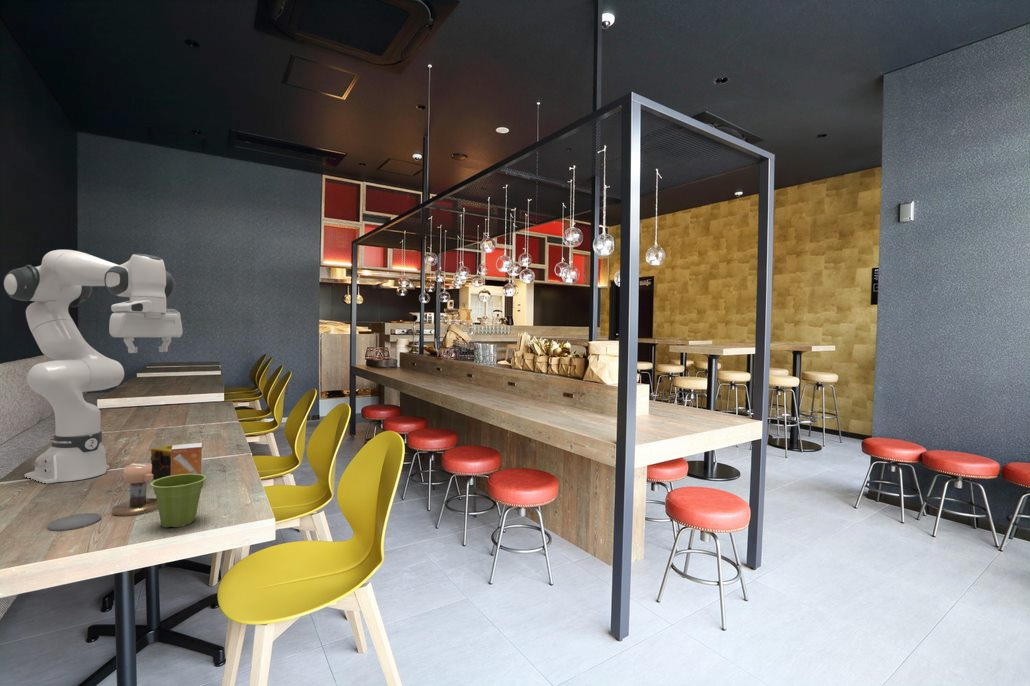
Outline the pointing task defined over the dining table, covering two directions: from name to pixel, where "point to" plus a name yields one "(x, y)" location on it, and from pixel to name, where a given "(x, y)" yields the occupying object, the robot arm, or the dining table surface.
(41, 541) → the dining table surface
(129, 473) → the cap
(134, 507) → the brown wide round part
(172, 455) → the small box
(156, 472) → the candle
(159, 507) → the plant pot
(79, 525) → the pad
